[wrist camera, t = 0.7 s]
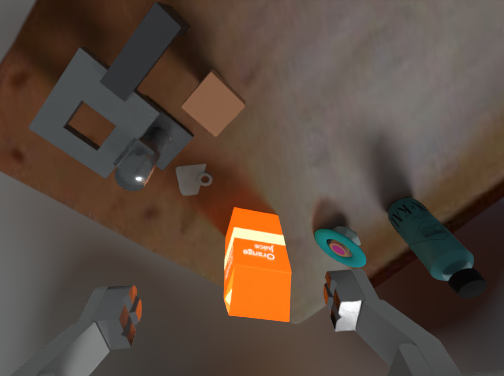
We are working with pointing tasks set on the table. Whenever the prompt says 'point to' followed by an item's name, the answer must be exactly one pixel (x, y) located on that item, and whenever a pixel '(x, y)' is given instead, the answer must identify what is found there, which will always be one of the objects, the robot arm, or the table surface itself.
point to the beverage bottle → (436, 247)
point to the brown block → (214, 103)
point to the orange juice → (256, 267)
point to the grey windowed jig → (118, 105)
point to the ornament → (341, 245)
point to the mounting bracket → (192, 178)
